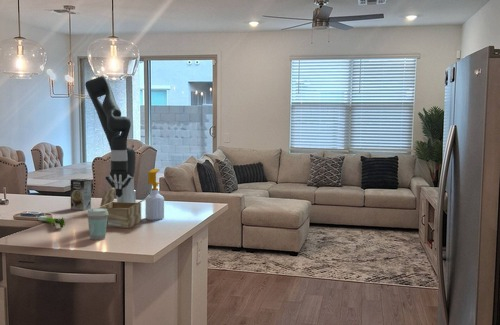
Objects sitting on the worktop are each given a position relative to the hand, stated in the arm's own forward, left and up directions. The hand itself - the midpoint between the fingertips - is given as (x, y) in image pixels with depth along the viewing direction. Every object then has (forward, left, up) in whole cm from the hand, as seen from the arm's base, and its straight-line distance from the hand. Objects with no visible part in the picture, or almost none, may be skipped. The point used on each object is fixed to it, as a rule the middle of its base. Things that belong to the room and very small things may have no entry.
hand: (119, 196), depth 235 cm
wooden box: (0, +1, -13) cm, 13 cm away
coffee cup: (+23, +18, -13) cm, 32 cm away
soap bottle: (-20, +1, -13) cm, 24 cm away
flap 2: (-4, +6, -4) cm, 8 cm away
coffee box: (-8, -47, -13) cm, 50 cm away
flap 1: (+4, -5, -4) cm, 7 cm away
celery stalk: (+23, -20, -14) cm, 34 cm away
